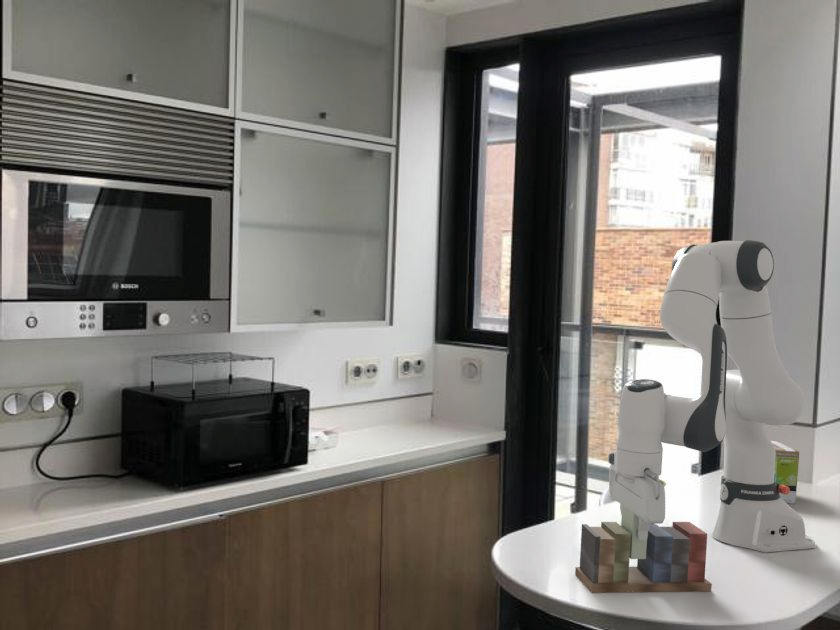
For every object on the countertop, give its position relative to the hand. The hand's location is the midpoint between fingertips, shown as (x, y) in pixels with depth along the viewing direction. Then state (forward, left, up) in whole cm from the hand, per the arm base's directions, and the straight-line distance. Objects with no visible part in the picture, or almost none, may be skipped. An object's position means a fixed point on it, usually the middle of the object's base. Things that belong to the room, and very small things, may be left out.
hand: (634, 533), depth 174 cm
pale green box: (0, 0, -4) cm, 4 cm away
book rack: (-2, 0, -10) cm, 10 cm away
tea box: (-66, -66, -10) cm, 94 cm away
